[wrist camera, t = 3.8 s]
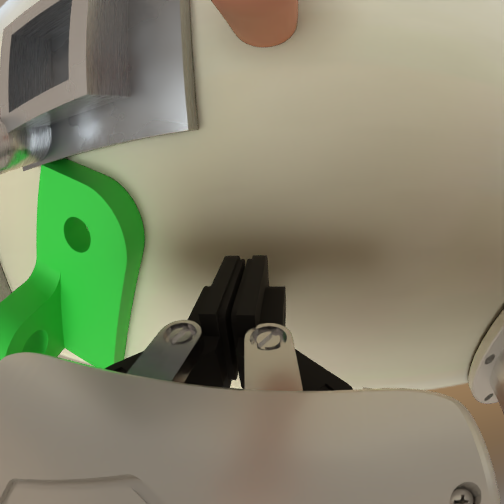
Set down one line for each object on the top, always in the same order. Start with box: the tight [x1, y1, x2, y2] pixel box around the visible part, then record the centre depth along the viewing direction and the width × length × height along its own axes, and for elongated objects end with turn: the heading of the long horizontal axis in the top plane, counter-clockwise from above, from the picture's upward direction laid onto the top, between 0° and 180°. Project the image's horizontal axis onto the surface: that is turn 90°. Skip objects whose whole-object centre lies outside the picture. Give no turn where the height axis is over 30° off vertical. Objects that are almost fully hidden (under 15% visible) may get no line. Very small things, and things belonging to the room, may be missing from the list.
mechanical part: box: [0, 158, 145, 369], centre depth 11 cm, size 12×6×8 cm, turn 157°
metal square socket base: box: [0, 0, 198, 174], centre depth 7 cm, size 10×9×5 cm
